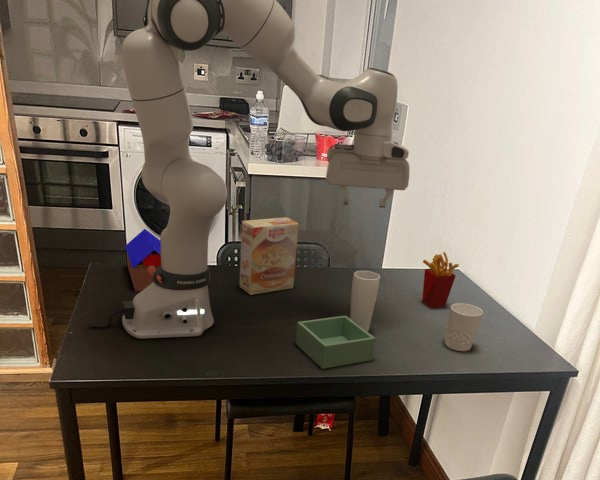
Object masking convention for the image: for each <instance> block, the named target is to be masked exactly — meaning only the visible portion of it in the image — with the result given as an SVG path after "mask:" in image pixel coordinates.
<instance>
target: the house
mask: <svg viewBox="0 0 600 480" xmlns="http://www.w3.org/2000/svg"><path fill="white" fill-rule="evenodd" d="M124 248H125V251H126V259H127V261H126V262H127V269H128V273H129V275H130V279H131V282H132V285H133V288H134V291H135V292H141V291H142V290H144V289H145V288H146V287H148V286H149V285H150V284H151V283H153V282H154V279H153V276H152V275H150V274H149V272H148V270H147V269H148V268H149V266H154V267H155V268H156V269H158V268H159V267H160V266H161V246H160V238H158V237H157V236H155V235H154V234H153V233H151V232H150V231H149V230H148V229H146V228H143V229H142V230H141V231H140V232H139V233H137V234H136V236H135V237H133V238H132V239H131V240H130V241H128V243H126V244H125V245H124Z"/></svg>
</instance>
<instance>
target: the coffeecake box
mask: <svg viewBox="0 0 600 480" xmlns="http://www.w3.org/2000/svg"><path fill="white" fill-rule="evenodd" d="M299 226H300V225H299V222H297V221H296V220H293V219H291V218H289V217H287V216H285V217H275V218H274V217H273V218H261V219H249V220H241V234H240V235H241V239H240V261H239V263H240V264H239V265H240V266H239V288H240V289H242V290H243V291H244V292H246V293H247V294H248V295H250V296H251V295H252V296H253V295H259V294H265V293H270V292H271V293H272V292H278V291H284V290H289V289H294V285H295V284H294V283H295V273H296V261H297V250H298V249H297V247H298V237H299V228H300V227H299Z"/></svg>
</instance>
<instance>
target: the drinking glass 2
mask: <svg viewBox="0 0 600 480" xmlns="http://www.w3.org/2000/svg"><path fill="white" fill-rule="evenodd" d="M380 282H381V275H380V274H379V273H377V272H375V271H371V270H357V271H354V272H353V277H352V281H351V291H350V312H349V313H350V314H349V318H350V319H351V320H352V321H354V322H355V323H356V324H358V325H359V326H360V327H362V328H363V329H364V330H366V331H367V332H368V333H369V331H370V328H371V324H372V323H371V322H372V319H373V314H374V312H375V311H374V310H375V307H376V302H377V298H378V295H379V289H380Z"/></svg>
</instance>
